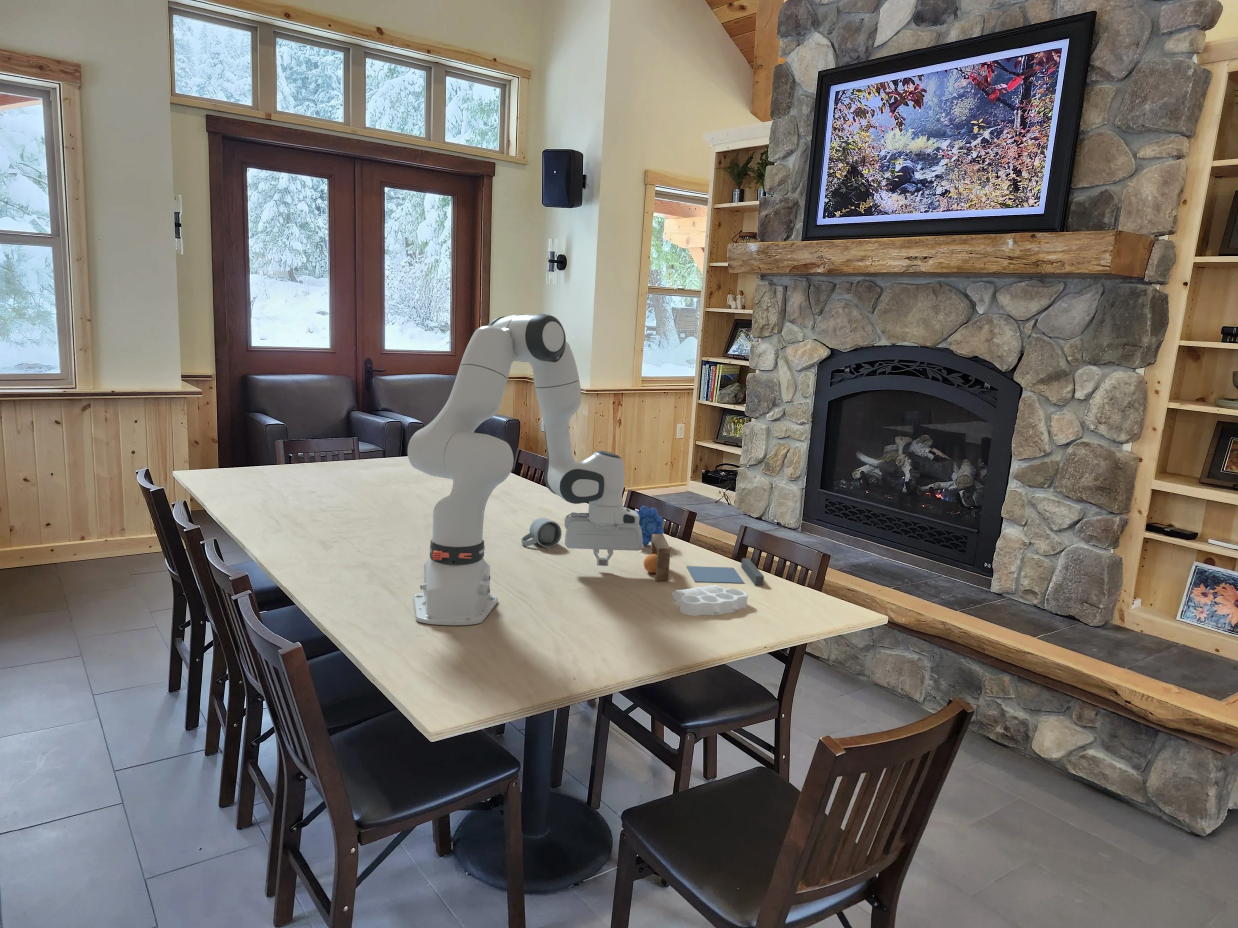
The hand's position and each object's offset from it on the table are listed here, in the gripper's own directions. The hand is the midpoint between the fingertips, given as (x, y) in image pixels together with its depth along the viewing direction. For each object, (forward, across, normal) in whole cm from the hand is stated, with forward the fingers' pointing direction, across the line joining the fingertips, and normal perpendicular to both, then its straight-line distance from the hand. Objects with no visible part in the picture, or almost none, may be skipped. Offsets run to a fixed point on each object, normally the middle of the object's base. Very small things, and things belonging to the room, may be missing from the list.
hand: (602, 565), depth 218 cm
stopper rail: (+2, +40, 0) cm, 40 cm away
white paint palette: (+2, +24, -24) cm, 34 cm away
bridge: (+2, +15, 0) cm, 15 cm away
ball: (-1, +13, 0) cm, 13 cm away
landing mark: (+2, +30, 0) cm, 30 cm away
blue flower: (+2, +15, +26) cm, 30 cm away
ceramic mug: (+2, -16, +24) cm, 29 cm away
